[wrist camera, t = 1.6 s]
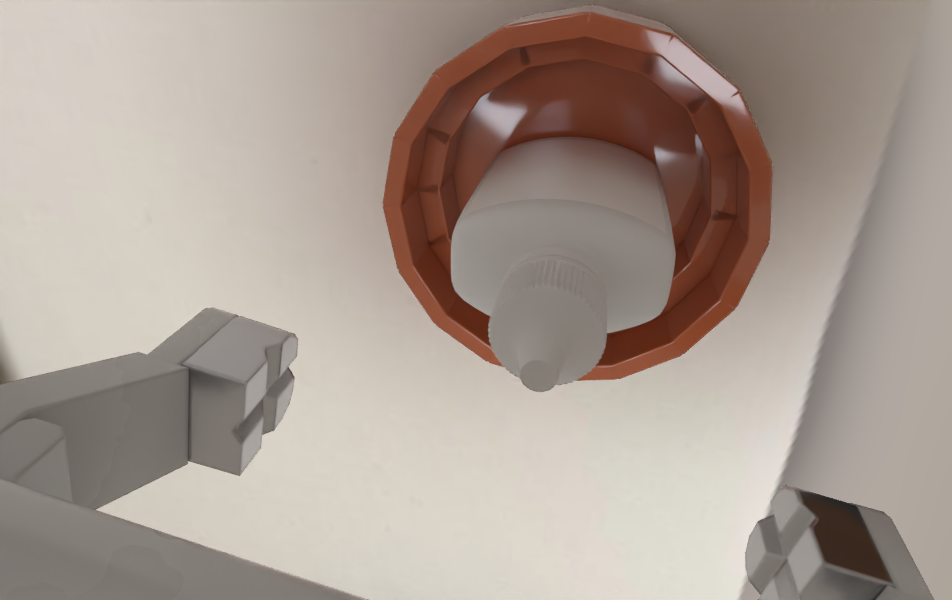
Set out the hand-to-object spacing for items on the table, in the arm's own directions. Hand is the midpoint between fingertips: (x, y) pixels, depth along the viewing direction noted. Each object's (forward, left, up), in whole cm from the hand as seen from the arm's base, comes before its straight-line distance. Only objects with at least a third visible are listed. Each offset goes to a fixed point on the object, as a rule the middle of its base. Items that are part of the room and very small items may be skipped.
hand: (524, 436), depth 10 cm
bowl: (0, 0, -14) cm, 14 cm away
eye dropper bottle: (0, 0, -14) cm, 14 cm away
